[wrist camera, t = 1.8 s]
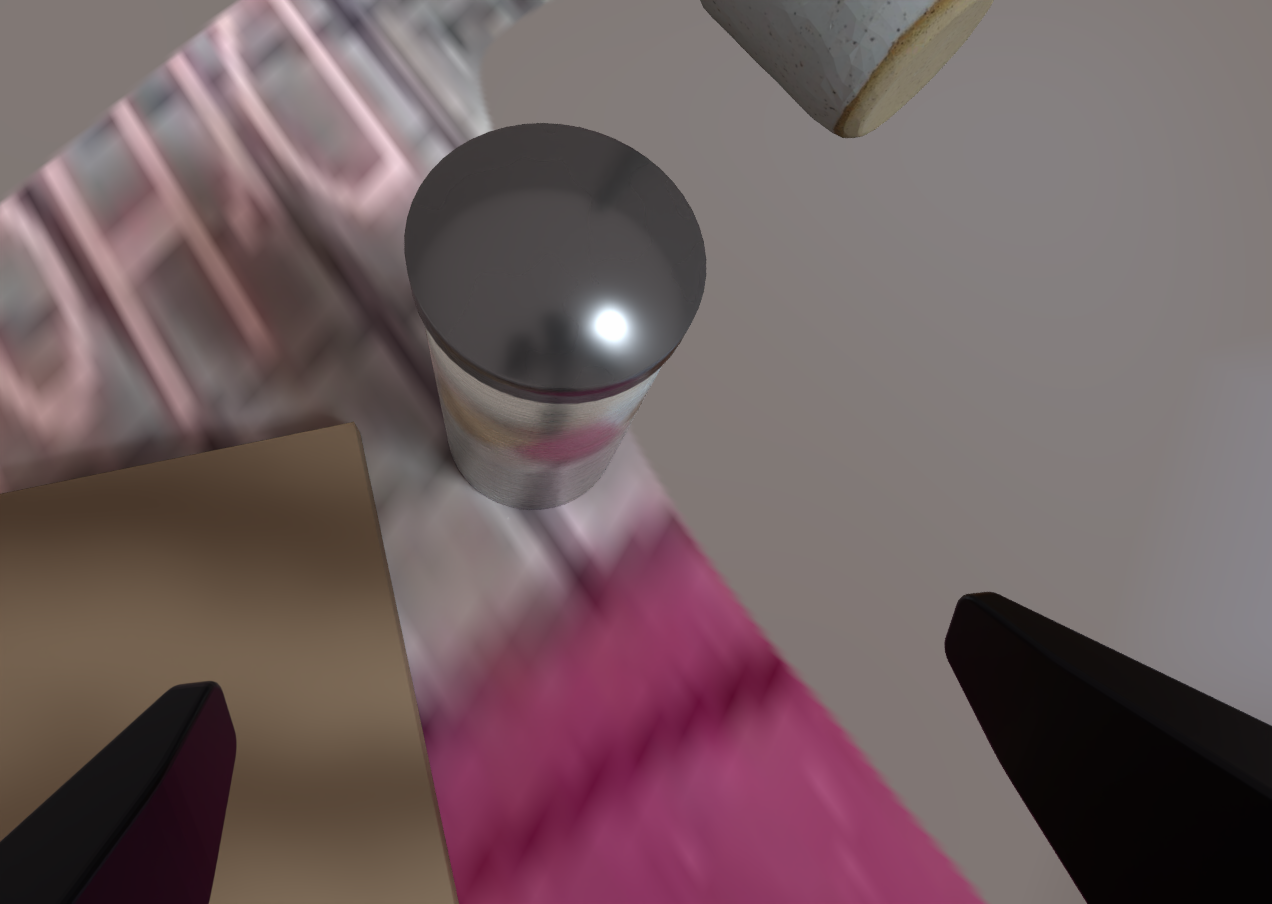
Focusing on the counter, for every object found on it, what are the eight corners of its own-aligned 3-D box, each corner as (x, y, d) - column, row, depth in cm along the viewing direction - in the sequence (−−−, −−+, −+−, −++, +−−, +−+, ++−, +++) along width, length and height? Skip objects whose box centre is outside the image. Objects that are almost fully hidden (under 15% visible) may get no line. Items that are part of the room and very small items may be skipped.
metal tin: (639, 489, 22) (745, 353, 13) (466, 532, 21) (442, 417, 11) (592, 335, 23) (657, 110, 14) (426, 366, 22) (375, 139, 13)
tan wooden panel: (507, 1133, 17) (507, 1161, 16) (-104, 1424, 14) (-148, 1479, 13) (360, 433, 21) (353, 422, 20) (-133, 535, 18) (-168, 528, 17)
